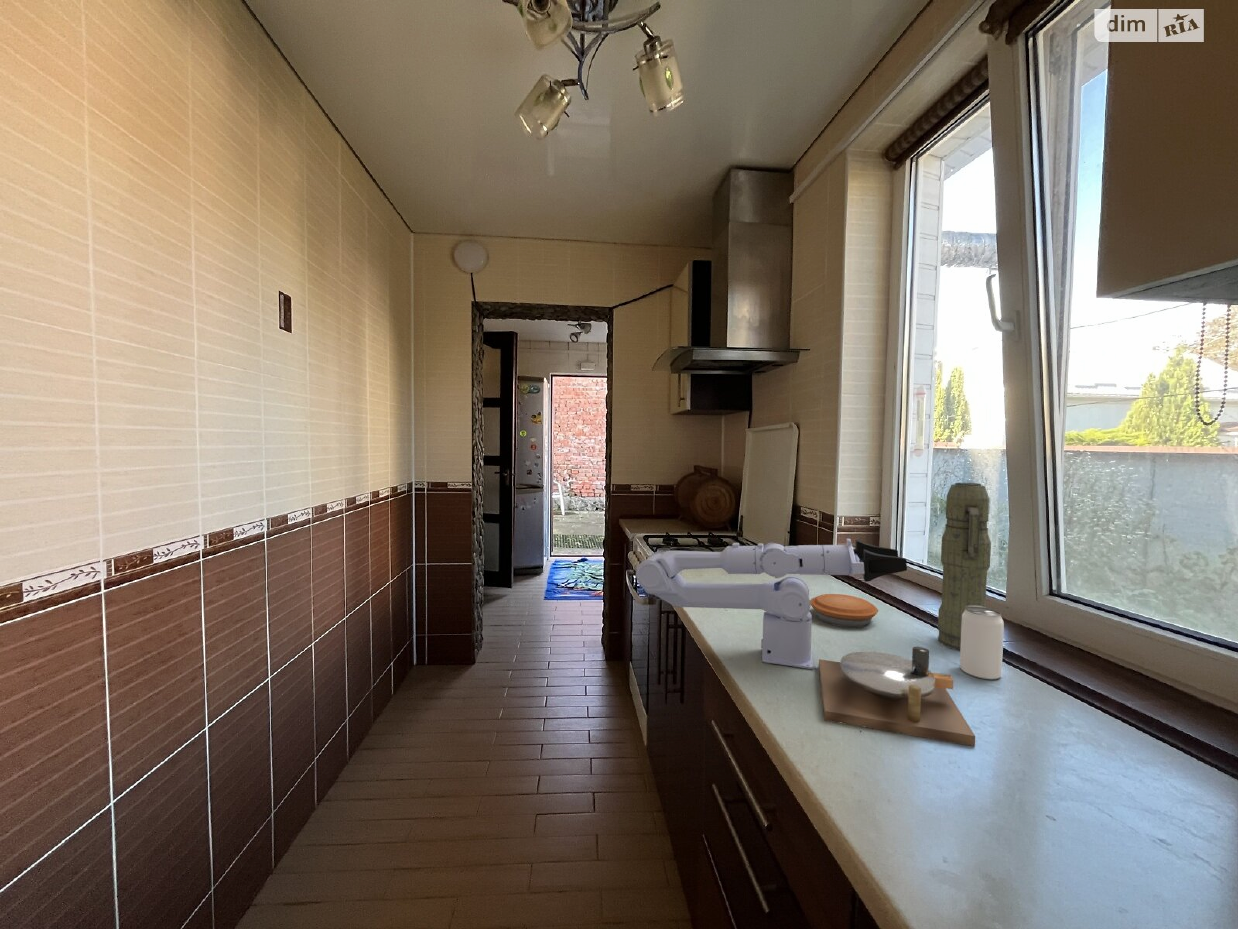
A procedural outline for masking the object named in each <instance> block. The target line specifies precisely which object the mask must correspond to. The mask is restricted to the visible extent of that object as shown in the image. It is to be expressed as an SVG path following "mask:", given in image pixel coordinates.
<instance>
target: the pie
mask: <svg viewBox="0 0 1238 929" xmlns="http://www.w3.org/2000/svg"><path fill="white" fill-rule="evenodd" d="M809 600H810V607H812V608H813V610H814V612H815V613H816V616H817V617H818V618H819V619H820V620H821V621H823V622H825V623H827V624H830V625H834V626H838V627H845V628H862V627H865V626H867V625H868V624H869V623H870V622H871V620H872V619H873V618H874V617H875V616H876V615H877V614H878V612H879V611H880V610H879V609H878V608H877V607H876V606H875V605H874V604H873V603H871V602H870V601H868V600H866V599H863V598H860V597H859V596H858V597H857V596H854V595H849V594H848V595H847V594H842V593H841V594H840V593H826V594H820V595H818V596H815V597H813V598H811V599H809Z"/></svg>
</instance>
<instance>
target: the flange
mask: <svg viewBox="0 0 1238 929" xmlns="http://www.w3.org/2000/svg"><path fill="white" fill-rule="evenodd" d="M840 662H841V673H842V675H843V676H844V677H845V678H846V679H847V680H848V681H850V682H851V683H853V684H855V685H856V686H858V687H861V688H863V689H865V690H868V691H871V692H874V693H877V694H881V695H885V696H890V697H897V698H908V697H909V685H916V686H919V687H920V688H921V698H923V697H926V696H929V695H931V694H932V693H933V692H934V690H935V687H938V688H945V689H946V690H954V679H953V677H952V675H951V674H944V673H937V672H932V671H931V670H930V649H927V648H925V647H922V646H913V647H912V654H911V660H910V659H908V658H905V657H902V656H898V655H895V654H890V653H885V652H879V651H877V652H876V651H864V650H863V651H852V652H850V653H846V654H845V655H843V656H842V657H841V659H840Z"/></svg>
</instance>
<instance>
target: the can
mask: <svg viewBox="0 0 1238 929" xmlns="http://www.w3.org/2000/svg"><path fill="white" fill-rule="evenodd" d="M1004 626H1005V624H1004V619H1003V618H1002V612H1000V611H999V610H996V609H993V608H990V607H981V606H966V607H965V611H964V613H963V614H962V624H961V648H960V650H959V651H960V652H959V656H960V657H959V668H960V670H962V672H963V673H965V674H967V675H969V676H971V677H973V678H977V679H982V680H988V681H989V680H990V681H994V680H998V679H1000V678H1001V677H1002V674H1003V672H1002V670H1003V649H1004V630H1005V629H1004V628H1005V627H1004Z"/></svg>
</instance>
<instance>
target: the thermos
mask: <svg viewBox="0 0 1238 929" xmlns="http://www.w3.org/2000/svg"><path fill="white" fill-rule="evenodd" d="M945 504H946V507H945V518H946V524H944V525H945V528H944V530H943V531H944V532H943V534H942V537H941V547H940V549H941V551H940V563H941V565H942V583H941V584H942V586H941V587H942V591H941V592H942V593H941V604H940V606H939V608H938V612H937V613H938V617H937V630H938V636H937V637H938V640H937V641H938V642H939V643H940V645H943V646H945V647H946V648H947V647H948V648H950V649H954V650H956V651H960V648H961V624H962V614H963V613H964V611H965V607H966V606H981V607H986V604H987V581H988V580H987V579H988V578H987V577H988V571H989V569H990V568H991V553H992V552H991V549H992V541H991V538H990V536H989V528H988V522H989V517H990V516H989V512H990V497H989V493H988V490H987V487H986V486H985V485H982V484H981V483H976V482H975V483H974V482H955V483H953V484H950V487H949V490H948V492H947V494H946V501H945Z"/></svg>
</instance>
